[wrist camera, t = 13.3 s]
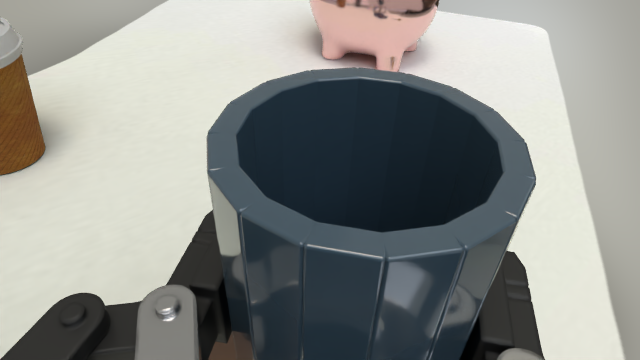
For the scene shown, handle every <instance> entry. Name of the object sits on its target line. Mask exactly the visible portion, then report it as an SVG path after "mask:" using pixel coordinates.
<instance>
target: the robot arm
mask: <svg viewBox="0 0 640 360" xmlns="http://www.w3.org/2000/svg"><path fill="white" fill-rule="evenodd" d="M528 285H529V284H528V279H527V274H526V269H525V267H524V266H523V264H522V263H521V261H520V260H519V258H518V257H517V255H516V254H515V252H509V251H507V252H506V255H505V257H504V259H503V262H502V264H501V266H500V269H499V271H498V273H497V276H496V278H495V280H494V283H493V285H492V287H491V289H490V292H489V294H488V296H487V299H486V301H485V303H484V306H483V308H482V310H481V313H480V315H479V317H478V320H477V322H476V324H475V327H474V329H473V331H472V334H471V336H470V338H469V341H468V343H467V345H466V348H465V350H464V352H463V355H462V357H461V359H460V360H545V359H544V356H543V353H542V349H541V344H540V339H539V334H538V329H537V324H536V319H535V314H534V309H533V304H532V302H531V294H530V289H529V288H528ZM231 333H232V327H231V320H230V314H229V308H228V301H227V295H226V289H225V282H224V276H223V270H222V263H221V257H220V251H219V244H218V238H217V232H216V225H215V219H214V213H213V210H212V211H211V212H209V213H208V214H207V215H206V216H205V218H204V220H203V221H202V223H201V225H200V227H199V228H198V232H196V234H195V235H194V237H193V239H192V242H190V244H189V246H188V248H187V249H186V251H185V253H184V255H183V257H182V258H181V260H180V262H179V264H178V265H177V267H176V269H175V271H174V272H173V274H172V276H171V278H170V279H169V281H168V283H167V284H166V285H165V286H162V287H160V288H157V289H155V290H154V291H152V292H151V293H149V294H148V295H147V296H146V297H145V298H144V299H143V301H139V302H134V303H126V304H117V305H108V306H105V305H104V303H103V301H102V299H101V298H100V297H98V296H97V295H95V294H91V293H78V294H74V295H70V296H68V297H65V298H64V299H62V300H60V301H59V302H57V303H56V304H54V305H53V306H52V307H51V308H50V309H49V310H48V311H47V312H46V313H45V314H44V315H43V316H42V317H41V318H40V319H39V320H38V321H37V323H36V324H35V325H34V326H33V327H32V328H31V329H30V330H29V331H28V332H27V333H26V334H25V335H24V336H23V337H22V338H21V339H20V340H19V341H18V342H17V343H16V344H15V345H14V346H13V347H12V348H11V349H10V350H9V351H8V352H7V353H6V354H5V355H4V356H3V357H2V358H1V359H0V360H210V359H209V356H210V353H211V351H212V349H213V346H214V344H215V341H216V342H221V343H226V344H227V343H228V340H229V338H230V335H231Z"/></svg>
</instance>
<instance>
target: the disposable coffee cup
mask: <svg viewBox="0 0 640 360" xmlns="http://www.w3.org/2000/svg"><path fill="white" fill-rule="evenodd" d="M22 44H23V39H22V36H21V35H20V34H19V33H18V32H16V31H14V29H13V28H12V26H11V25H10V23H9V22H8V21H7V20H6V19H4V18H2V17H0V175H2V174H7V173H11V172H15V171H18V170H21V169H23V168H25V167H27V166H29V165H31V164H32V163H34V162H35V161H37V160H38V159H39V158H40V157H41V156H42V155H43V153H44V151H45V144H44V140H43V136H42V133H41V128H40V125H39V121H38V117H37V112H36V109H35V105H34V101H33V97H32V93H31V89H30V85H29V81H28V77H27V73H26V70H25V65H24V62H23V58H22V54H21V53H22V49H23V48H22Z"/></svg>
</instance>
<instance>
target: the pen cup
mask: <svg viewBox="0 0 640 360" xmlns="http://www.w3.org/2000/svg"><path fill="white" fill-rule="evenodd" d="M207 174H208V181H209V187H210V193H211V200H212V206H213V213H214V219H215V225H216V232H217V238H218V244H219V251H220V257H221V263H222V270H223V276H224V282H225V289H226V295H227V301H228V308H229V314H230V320H231V327H232V333H233V339H234V346H235V352H236V359H237V360H460V359H461V357H462V355H463V352H464V350H465V348H466V345H467V343H468V341H469V338H470V336H471V334H472V331H473V329H474V327H475V324H476V322H477V320H478V317H479V315H480V313H481V310H482V308H483V306H484V303H485V301H486V299H487V296H488V294H489V292H490V289H491V287H492V285H493V283H494V280H495V278H496V276H497V273H498V271H499V269H500V266H501V264H502V262H503V259H504V257H505V255H506V252H507V250H508V248H509V245H510V243H511V241H512V238H513V236H514V234H515V231H516V229H517V227H518V224H519V222H520V220H521V217H522V215H523V213H524V211H525V208H526V206H527V204H528V201H529V199H530V197H531V194H532V192H533V190H534V187H535V185H536V176H535V172H534V169H533V165H532V161H531V158H530V154H529V151H528V147H527V144H526V143H525V141H524V139H523V138H522V137H521V136H520V135H519V134H518V133H517V132H516V131H515V130H514V129H513V128H512V127H511V126H510V125H509V124H508V123H507V121H506V120H505V119H504V118H503V117H502V116H501V115H500V114H499V113H498V112H496V111H494V109H493V108H491V107H489V106H487V105H485V104H483V103H482V102H480V101H478V100H476V99H474V98H473V97H471V96H469V95H467V94H465V93H463V92H462V91H460V90H458V89H456V88H453V87H451V86H448V85H445V84H441V83H438V82H435V81H431V80H428V79H425V78H421V77H418V76H415V75H411V74H405V73H402V72H393V71H384V70H376V69H367V68H358V69H357V68H339V69H322V70H311V71H304V72H300V73H296V74H292V75H288V76H285V77H281V78H277V79H273V80H270V81H267V82H266V83H262V84H260V85H259V86H257V87H255V88H253V89H252V90H250V91H248V92H247V93H245V94H243V95H241V96H240V97H238V98H236V99H235V100H233V101H231V102H230V104H228V105H227V106H226V108H225V109H224V110H223V112H222V113H221V115H220V116H219V117H218V119H217V120H216V122H215V123H214V124H213V126H212V127H211V129H210V130H209V131H208V135H207Z"/></svg>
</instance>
